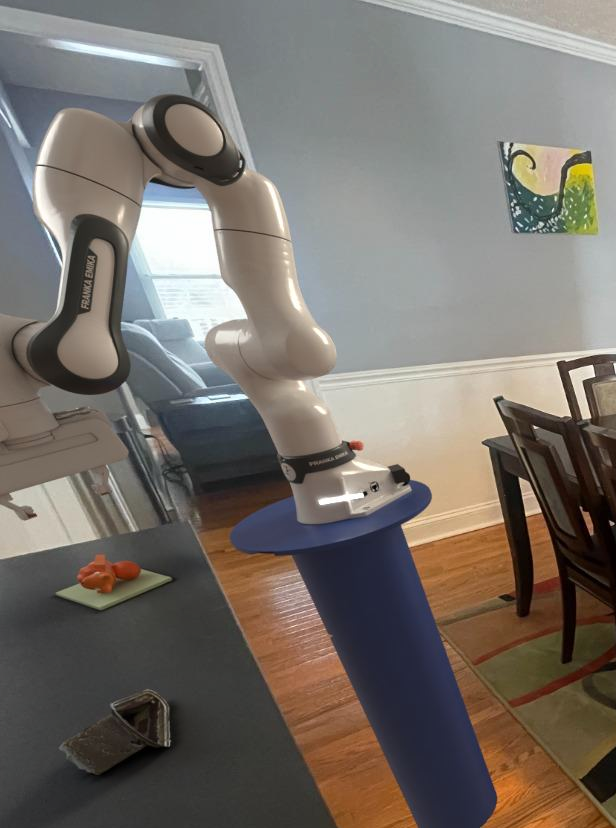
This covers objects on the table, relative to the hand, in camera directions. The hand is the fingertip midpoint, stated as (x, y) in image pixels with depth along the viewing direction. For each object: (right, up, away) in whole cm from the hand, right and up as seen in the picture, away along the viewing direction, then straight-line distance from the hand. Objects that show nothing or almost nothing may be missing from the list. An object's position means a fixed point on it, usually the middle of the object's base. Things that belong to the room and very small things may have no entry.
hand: (68, 505), depth 96 cm
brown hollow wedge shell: (+37, -30, -26) cm, 54 cm away
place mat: (0, -14, +7) cm, 15 cm away
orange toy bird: (0, -13, +7) cm, 15 cm away
